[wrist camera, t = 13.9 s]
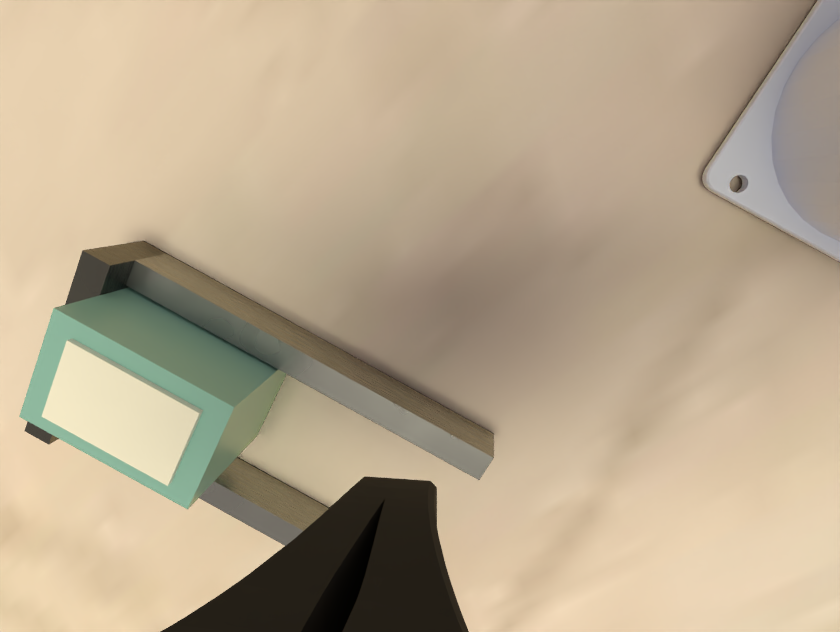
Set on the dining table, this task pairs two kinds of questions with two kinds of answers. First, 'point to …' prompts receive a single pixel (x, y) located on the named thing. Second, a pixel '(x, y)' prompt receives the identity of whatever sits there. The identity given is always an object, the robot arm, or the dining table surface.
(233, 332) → the rail
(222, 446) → the module
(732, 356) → the dining table surface
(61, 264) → the dining table surface
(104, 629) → the dining table surface
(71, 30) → the dining table surface
